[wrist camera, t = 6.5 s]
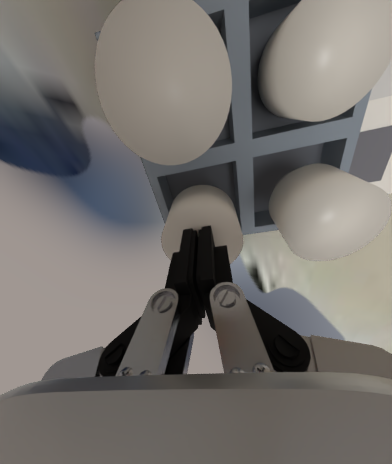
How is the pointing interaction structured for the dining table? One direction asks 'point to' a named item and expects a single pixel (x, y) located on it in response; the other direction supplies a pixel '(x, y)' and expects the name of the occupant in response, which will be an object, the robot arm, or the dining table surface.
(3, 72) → the dining table surface
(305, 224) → the button
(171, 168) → the button board
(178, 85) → the button
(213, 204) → the button
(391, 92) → the card
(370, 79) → the button
